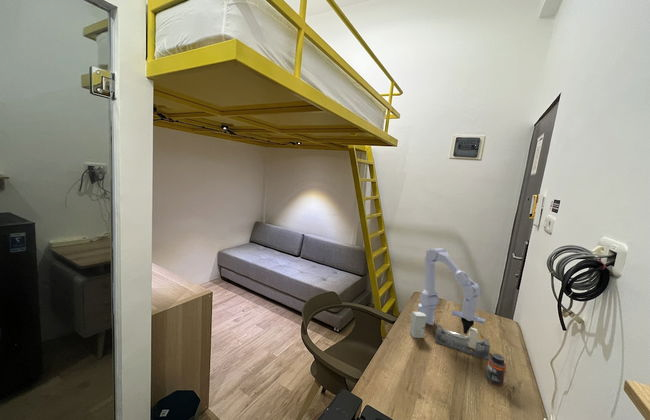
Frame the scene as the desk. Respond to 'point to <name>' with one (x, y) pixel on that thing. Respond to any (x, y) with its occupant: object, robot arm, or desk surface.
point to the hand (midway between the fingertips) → (465, 332)
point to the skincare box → (418, 324)
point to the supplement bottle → (496, 370)
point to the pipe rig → (462, 343)
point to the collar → (472, 338)
